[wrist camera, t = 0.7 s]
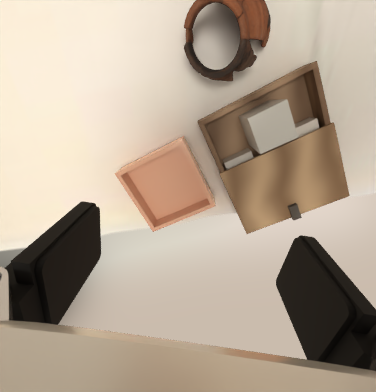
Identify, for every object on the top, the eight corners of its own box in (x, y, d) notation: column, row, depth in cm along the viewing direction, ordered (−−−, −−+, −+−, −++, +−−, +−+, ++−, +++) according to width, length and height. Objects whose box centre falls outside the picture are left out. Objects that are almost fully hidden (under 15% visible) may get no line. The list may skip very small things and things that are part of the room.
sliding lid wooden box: (305, 64, 27) (323, 58, 23) (335, 188, 33) (352, 198, 30) (196, 121, 30) (196, 124, 26) (242, 223, 37) (248, 237, 33)
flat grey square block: (247, 147, 31) (251, 151, 29) (255, 168, 32) (259, 172, 30) (222, 159, 32) (224, 163, 30) (231, 179, 33) (233, 184, 31)
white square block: (309, 117, 29) (317, 118, 27) (316, 143, 30) (323, 146, 28) (284, 129, 29) (290, 130, 28) (292, 154, 31) (297, 157, 29)
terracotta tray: (183, 136, 31) (182, 139, 28) (213, 197, 35) (215, 205, 32) (121, 167, 33) (114, 173, 31) (156, 222, 37) (153, 231, 34)
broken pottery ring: (270, 70, 28) (255, 85, 22) (205, 73, 32) (179, 87, 26) (286, -73, 20) (268, -101, 15) (198, -44, 24) (159, -59, 19)
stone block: (269, 99, 28) (287, 99, 23) (279, 131, 30) (298, 137, 24) (238, 115, 29) (247, 118, 24) (249, 145, 31) (260, 154, 25)
